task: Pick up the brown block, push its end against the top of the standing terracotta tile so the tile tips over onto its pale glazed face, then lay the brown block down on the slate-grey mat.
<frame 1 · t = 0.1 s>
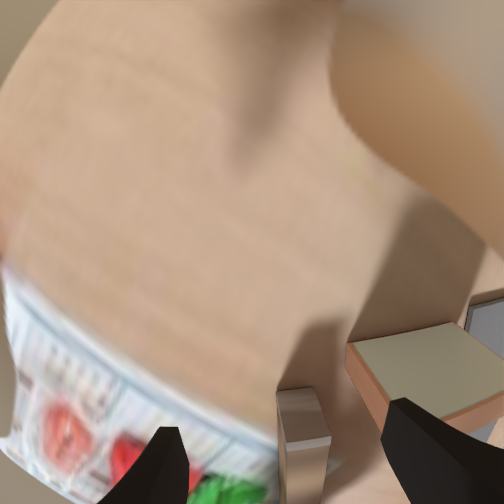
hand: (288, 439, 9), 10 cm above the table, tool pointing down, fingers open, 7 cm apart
brown block: (293, 458, 22), on the table
mat: (481, 391, 22), on the table
tile: (403, 344, 20), on the table
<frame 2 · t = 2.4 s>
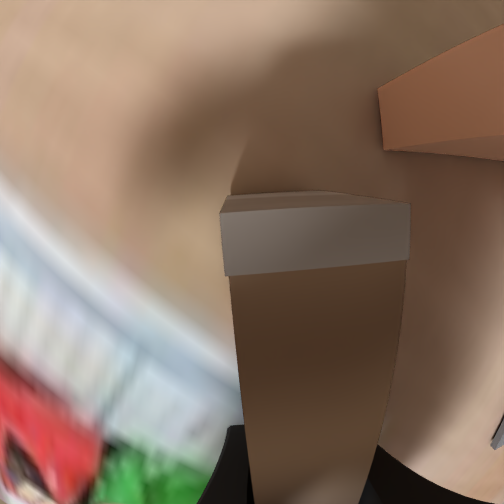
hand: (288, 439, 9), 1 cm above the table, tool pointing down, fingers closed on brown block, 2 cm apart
brown block: (282, 413, 11), on the table, touching gripper
tile: (480, 132, 9), on the table
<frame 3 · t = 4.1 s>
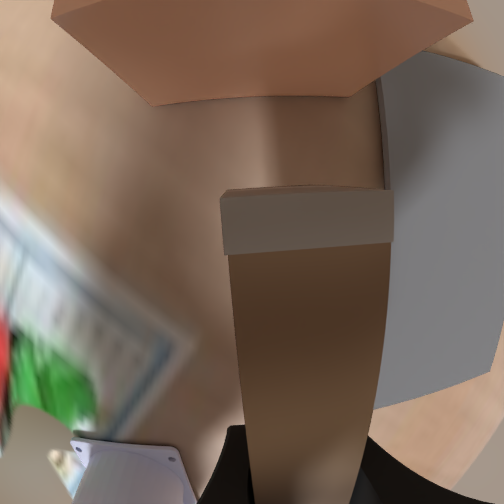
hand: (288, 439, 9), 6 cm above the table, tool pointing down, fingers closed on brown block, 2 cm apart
brown block: (280, 403, 11), point 5 cm above the table, touching gripper
mat: (459, 236, 15), on the table
tile: (251, 76, 13), on the table
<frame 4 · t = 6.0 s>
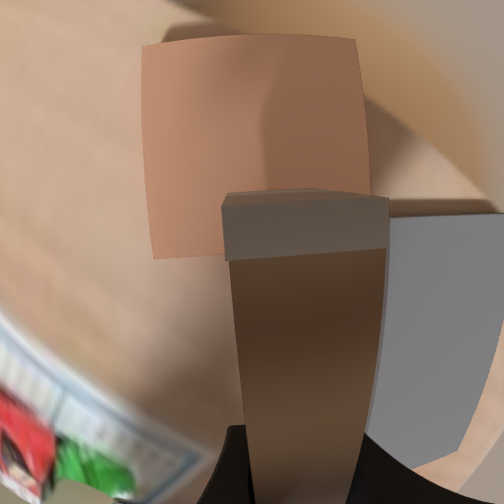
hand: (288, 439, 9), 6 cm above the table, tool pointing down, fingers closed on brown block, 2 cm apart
brown block: (280, 401, 11), point 4 cm above the table, touching gripper
mat: (438, 370, 17), on the table
tile: (263, 245, 14), point 1 cm above the table, tilted 90°
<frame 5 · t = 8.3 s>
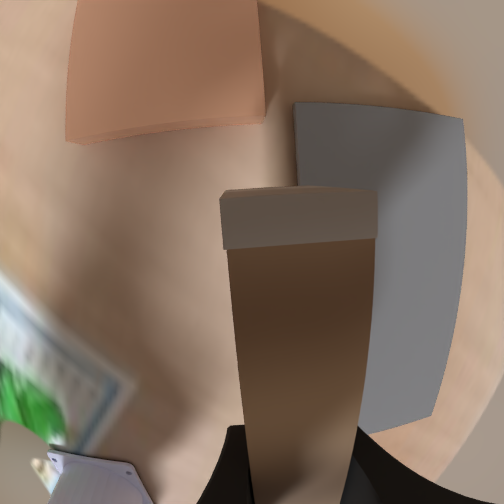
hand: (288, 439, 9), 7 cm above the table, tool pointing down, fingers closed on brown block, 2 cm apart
brown block: (277, 395, 11), point 5 cm above the table, touching gripper
mat: (388, 296, 16), on the table
tile: (162, 128, 13), point 1 cm above the table, tilted 90°
when the fingers open (3 cm above the table, at t = 9.9 s): brown block stays where it is, resting on mat.
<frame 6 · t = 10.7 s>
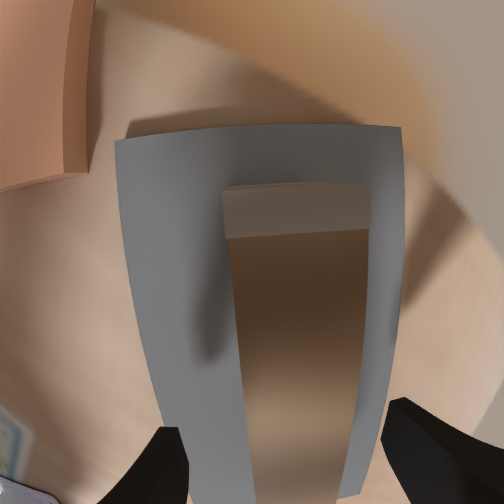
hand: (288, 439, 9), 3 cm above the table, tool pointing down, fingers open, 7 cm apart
brown block: (277, 387, 12), point 1 cm above the table, touching mat
mat: (276, 383, 12), on the table
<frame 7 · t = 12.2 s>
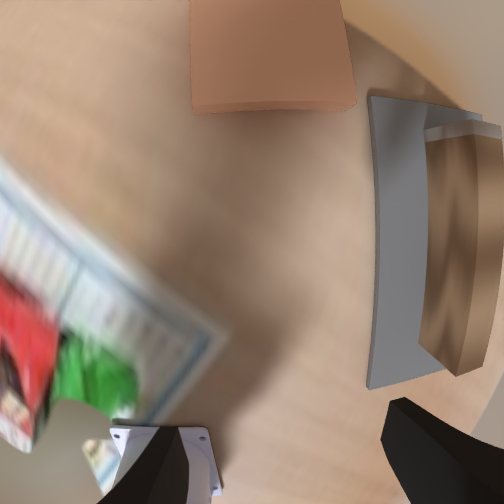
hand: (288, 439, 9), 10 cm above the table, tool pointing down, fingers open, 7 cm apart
brown block: (441, 247, 19), point 1 cm above the table, touching mat
mat: (436, 249, 19), on the table
tile: (275, 105, 16), point 1 cm above the table, tilted 90°
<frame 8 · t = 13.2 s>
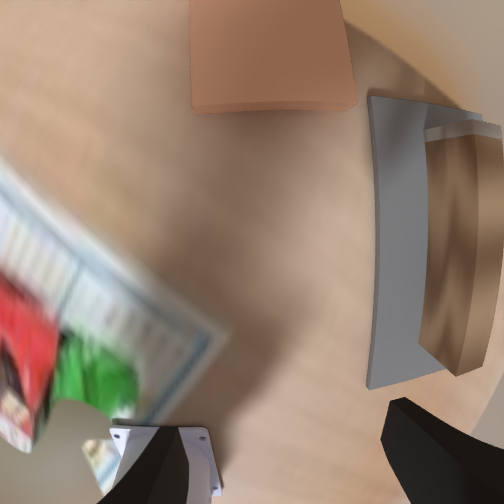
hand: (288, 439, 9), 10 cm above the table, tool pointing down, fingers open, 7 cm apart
brown block: (441, 247, 19), point 1 cm above the table, touching mat
mat: (436, 249, 19), on the table
tile: (275, 106, 16), point 1 cm above the table, tilted 90°
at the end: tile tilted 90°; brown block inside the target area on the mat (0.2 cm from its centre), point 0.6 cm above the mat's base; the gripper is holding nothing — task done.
